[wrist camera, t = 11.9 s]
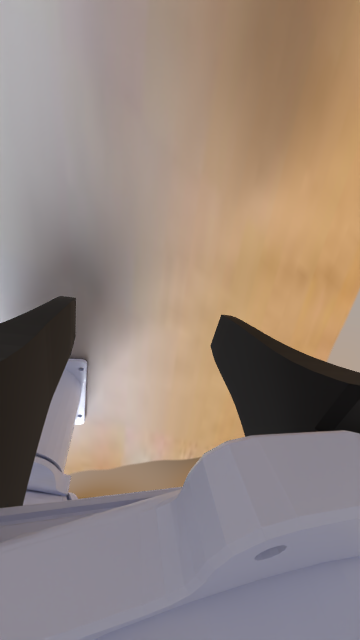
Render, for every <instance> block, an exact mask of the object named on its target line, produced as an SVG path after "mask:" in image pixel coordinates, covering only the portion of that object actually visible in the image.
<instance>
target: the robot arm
mask: <svg viewBox="0 0 360 640" xmlns="http://www.w3.org/2000/svg"><path fill="white" fill-rule="evenodd" d="M75 318H76V298H72V297H63V296H60V297H57V298H55V299H53V300H51V301H49V302H47V303H45V304H43V305H41V306H39V307H37V308H35V309H33V310H31V311H29V312H27V313H24V314H22V315H20V316H17V317H15V318H13V319H10V320H8V321H5V322H3V323H0V640H360V373H359V372H355V371H352V370H349V369H346V368H342V367H339V366H336V365H333V364H330V363H327V362H324V361H322V360H319V359H316V358H314V357H311V356H309V355H306V354H304V353H302V352H299V351H297V350H295V349H293V348H291V347H289V346H287V345H284V344H283V343H281V342H279V341H277V340H275V339H273V338H271V337H270V336H268V335H266V334H264V333H263V332H261V331H259V330H257V329H256V328H254V327H252V326H251V325H249V324H247V323H245V322H244V321H242V320H240V319H238V318H236V317H233V316H228V315H221V317H220V320H219V323H218V326H217V329H216V332H215V334H214V337H213V340H212V343H211V349H212V353H213V356H214V360H215V362H216V365H217V367H218V369H219V371H220V373H221V375H222V377H223V379H224V382H225V384H226V386H227V388H228V390H229V392H230V394H231V396H232V399H233V401H234V403H235V406H236V409H237V412H238V415H239V418H240V420H241V424H242V427H243V430H244V433H245V437H243V438H238V439H234V440H229V441H226V442H224V443H222V444H221V445H219V446H217V447H215V448H213V449H212V450H210V451H208V452H206V453H204V455H203V456H202V457H201V458H200V459H199V460H198V462H197V463H196V464H195V465H194V466H193V468H192V469H191V470H190V472H189V474H188V476H187V478H186V480H185V482H184V485H183V487H177V488H168V489H160V490H151V491H142V492H134V493H125V494H118V495H109V496H101V497H92V498H83V499H78V498H77V496H76V495H75V494H73V493H70V492H68V490H69V485H70V480H71V476H70V475H66V474H64V469H65V464H66V460H67V455H68V451H69V446H70V442H71V438H72V433H73V429H74V424H83V423H84V421H85V403H86V379H87V361H86V360H83V359H69V357H70V355H71V351H72V348H73V344H74V340H75ZM80 367H82V368H83V369H81V368H80Z"/></svg>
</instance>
